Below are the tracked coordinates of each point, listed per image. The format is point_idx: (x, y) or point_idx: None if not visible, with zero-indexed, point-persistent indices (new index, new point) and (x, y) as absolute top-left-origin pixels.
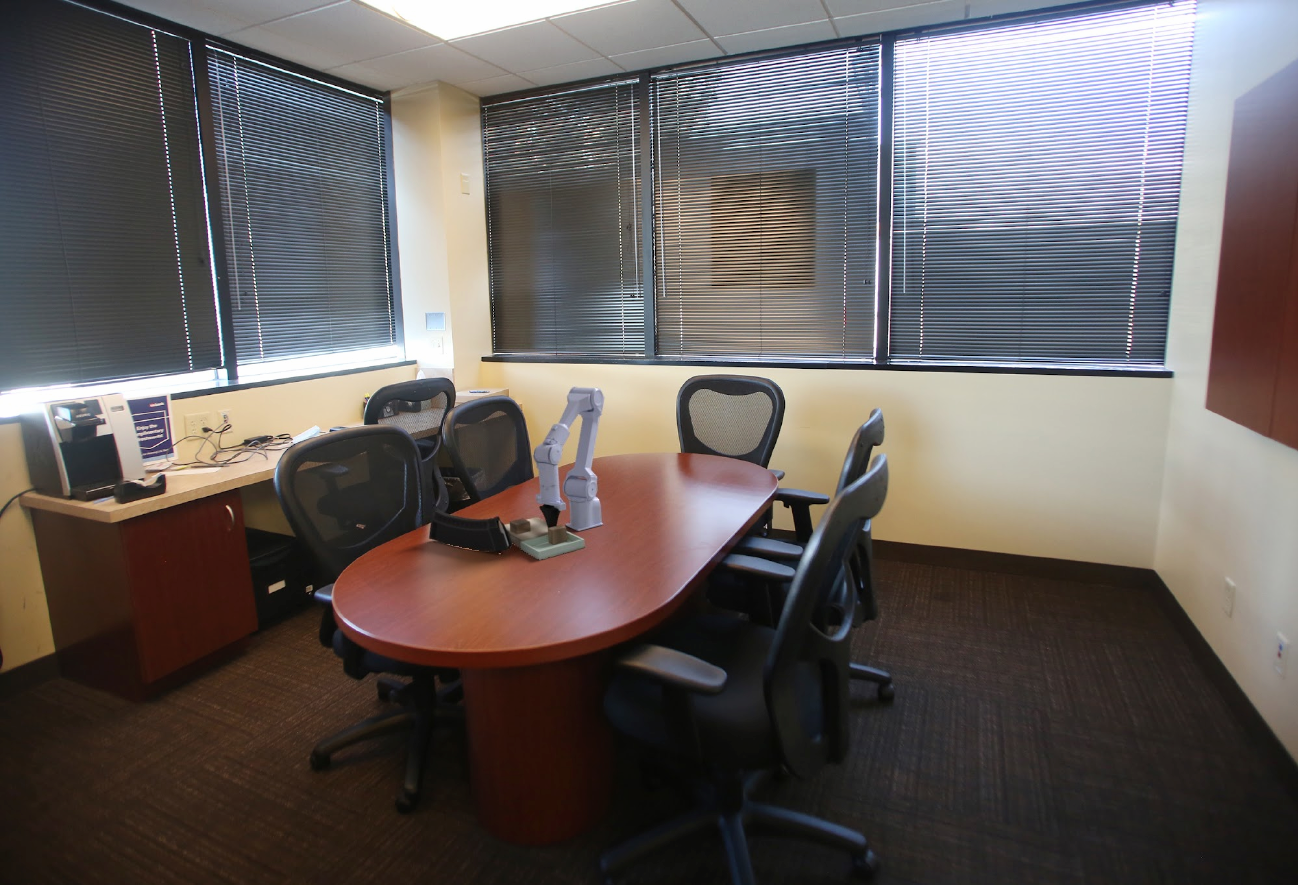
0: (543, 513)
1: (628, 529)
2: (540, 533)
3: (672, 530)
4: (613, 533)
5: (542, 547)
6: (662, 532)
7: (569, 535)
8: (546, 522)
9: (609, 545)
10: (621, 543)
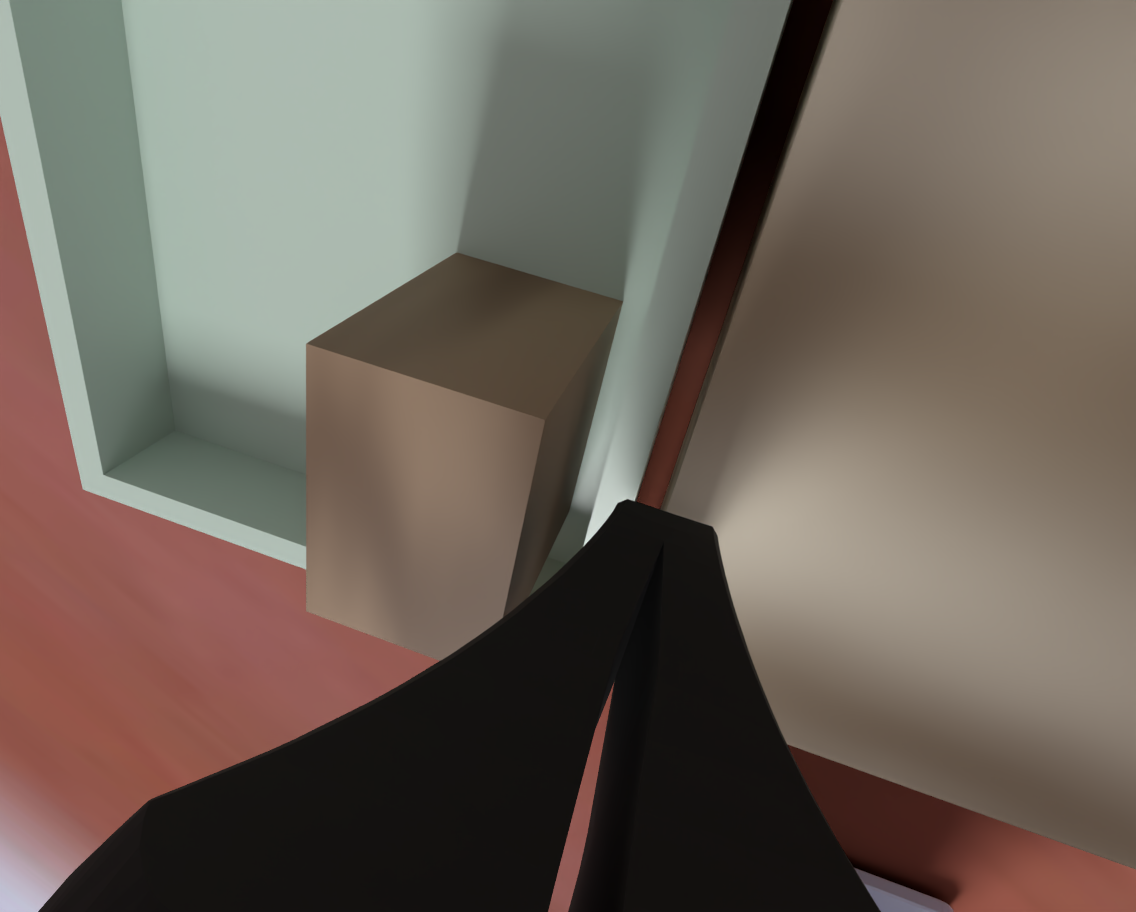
0: (773, 848)
1: None
2: (798, 325)
3: None
4: None
5: (522, 34)
6: None
7: None
8: (714, 604)
9: (95, 579)
10: (86, 650)
